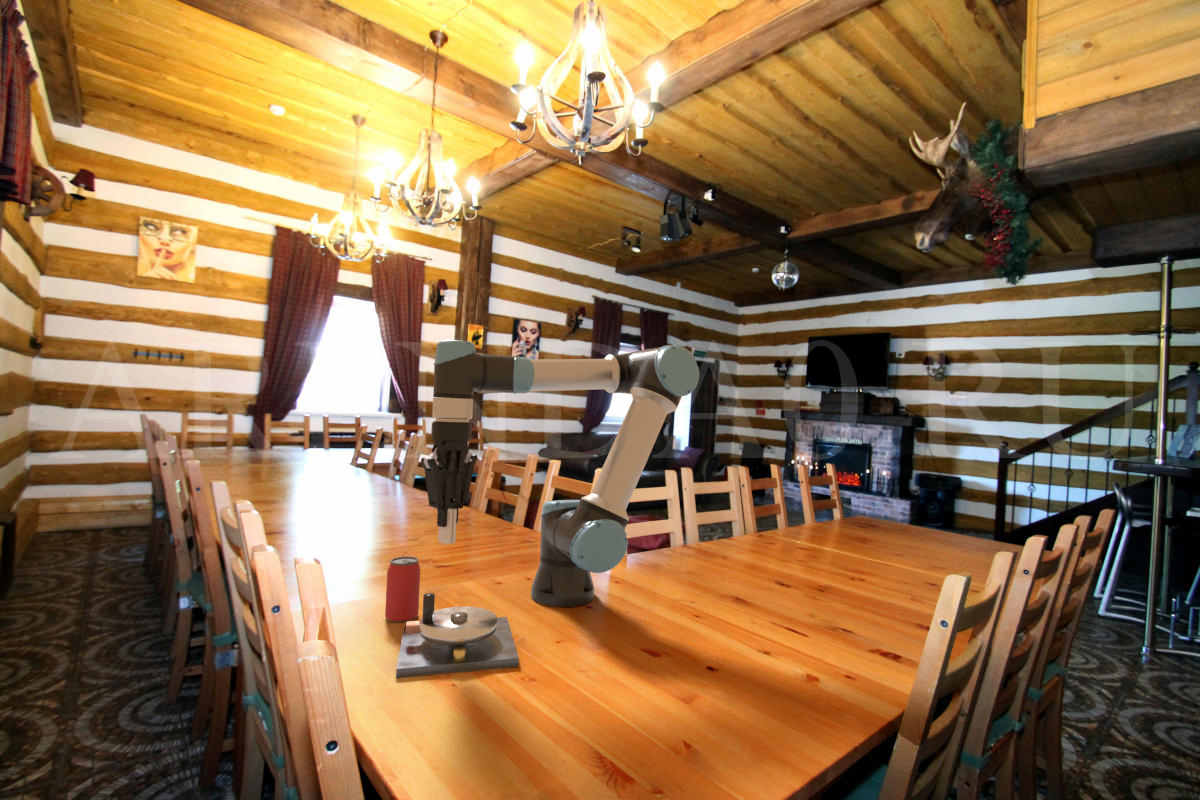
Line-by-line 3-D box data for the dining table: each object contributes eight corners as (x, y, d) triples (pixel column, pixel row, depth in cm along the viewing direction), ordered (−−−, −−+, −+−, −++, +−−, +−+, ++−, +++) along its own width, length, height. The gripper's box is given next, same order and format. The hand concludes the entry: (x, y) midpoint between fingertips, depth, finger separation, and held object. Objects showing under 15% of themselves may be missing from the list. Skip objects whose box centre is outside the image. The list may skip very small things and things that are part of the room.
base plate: (506, 624, 112) (507, 607, 112) (518, 666, 94) (519, 646, 94) (404, 631, 107) (405, 613, 107) (395, 678, 88) (396, 656, 88)
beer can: (407, 625, 110) (410, 565, 110) (378, 621, 111) (381, 562, 111) (424, 613, 116) (426, 557, 116) (396, 610, 117) (399, 554, 118)
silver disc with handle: (493, 612, 109) (495, 579, 109) (500, 641, 96) (502, 604, 96) (408, 617, 104) (409, 583, 105) (402, 648, 91) (404, 610, 91)
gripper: (462, 419, 113) (457, 533, 112) (411, 419, 101) (405, 546, 100) (490, 421, 109) (484, 538, 108) (440, 421, 97) (434, 553, 97)
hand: (446, 542), depth 104 cm, fingers closed
